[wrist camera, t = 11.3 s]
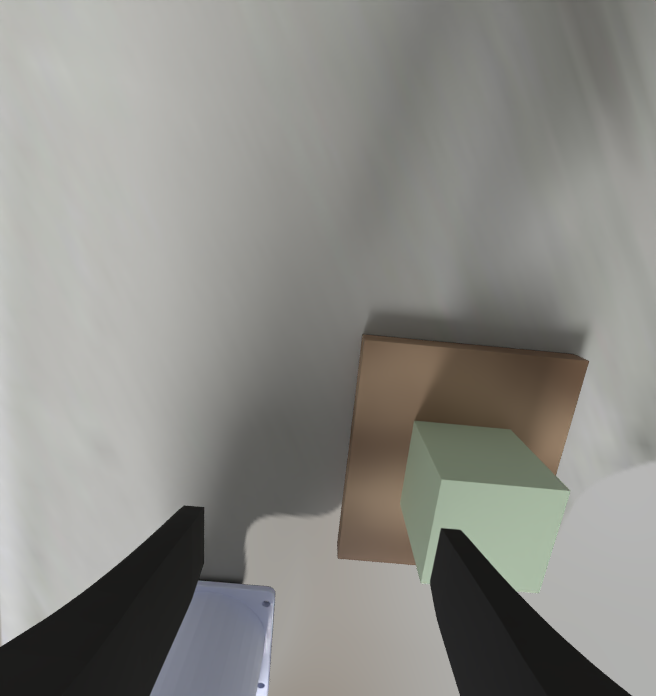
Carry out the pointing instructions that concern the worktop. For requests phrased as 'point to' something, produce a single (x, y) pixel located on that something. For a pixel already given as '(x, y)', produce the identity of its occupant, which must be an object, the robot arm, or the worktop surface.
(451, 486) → the green cube
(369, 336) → the cutting board
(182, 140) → the worktop surface
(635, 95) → the worktop surface
